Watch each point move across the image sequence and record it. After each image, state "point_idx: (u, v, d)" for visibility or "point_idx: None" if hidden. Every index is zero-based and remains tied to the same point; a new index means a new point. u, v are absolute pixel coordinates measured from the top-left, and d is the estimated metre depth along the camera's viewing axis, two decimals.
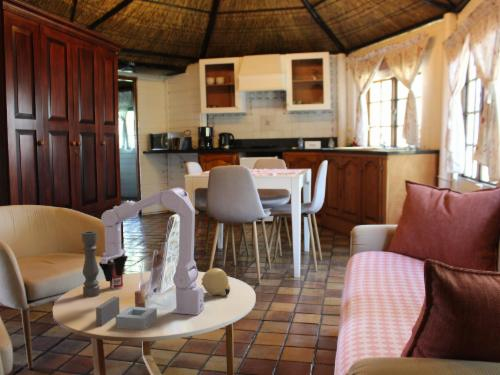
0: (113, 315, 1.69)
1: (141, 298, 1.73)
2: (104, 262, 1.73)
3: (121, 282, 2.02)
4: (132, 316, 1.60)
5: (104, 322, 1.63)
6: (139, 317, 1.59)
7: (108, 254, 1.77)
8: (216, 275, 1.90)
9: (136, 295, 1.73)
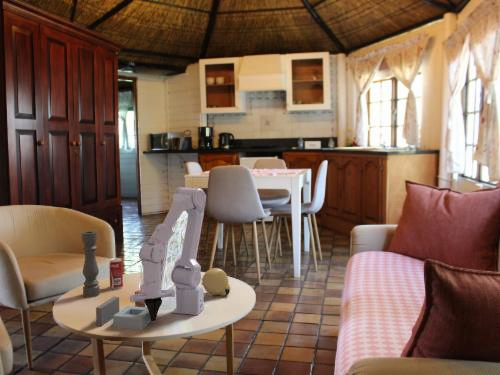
0: (113, 315, 1.69)
1: None
2: (130, 300, 1.58)
3: (121, 282, 2.02)
4: (130, 315, 1.60)
5: (104, 322, 1.63)
6: (136, 316, 1.59)
7: (143, 292, 1.61)
8: (216, 275, 1.90)
9: None
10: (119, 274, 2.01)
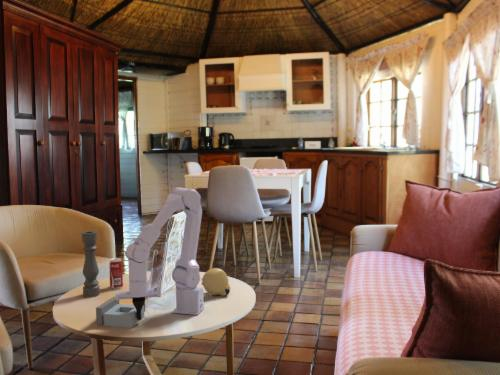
0: None
1: None
2: None
3: (121, 282, 2.02)
4: (120, 313, 1.61)
5: None
6: (127, 314, 1.61)
7: None
8: (216, 275, 1.90)
9: None
10: (119, 274, 2.01)
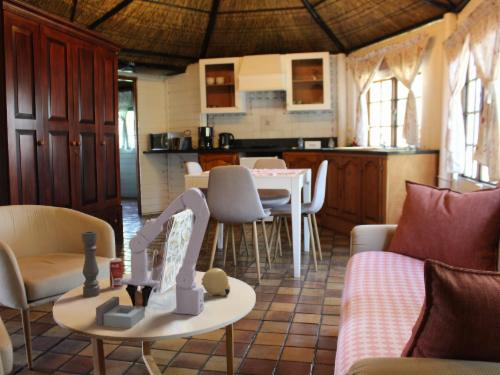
0: None
1: (141, 298, 1.73)
2: None
3: None
4: (120, 314, 1.61)
5: None
6: (126, 315, 1.60)
7: None
8: (216, 275, 1.90)
9: (136, 295, 1.73)
10: (119, 274, 2.01)
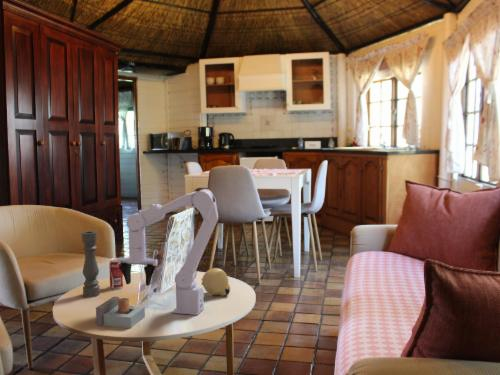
0: None
1: (126, 306, 1.63)
2: None
3: (121, 282, 2.02)
4: (120, 315, 1.61)
5: None
6: (126, 316, 1.60)
7: None
8: (216, 275, 1.90)
9: (120, 303, 1.63)
10: (119, 274, 2.01)
